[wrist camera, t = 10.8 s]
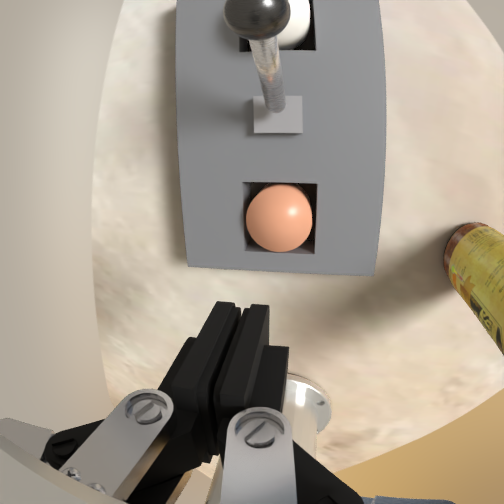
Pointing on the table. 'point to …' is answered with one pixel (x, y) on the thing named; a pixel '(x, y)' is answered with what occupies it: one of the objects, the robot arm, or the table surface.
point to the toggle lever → (262, 41)
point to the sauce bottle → (479, 274)
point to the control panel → (282, 138)
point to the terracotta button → (280, 216)
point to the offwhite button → (295, 26)
